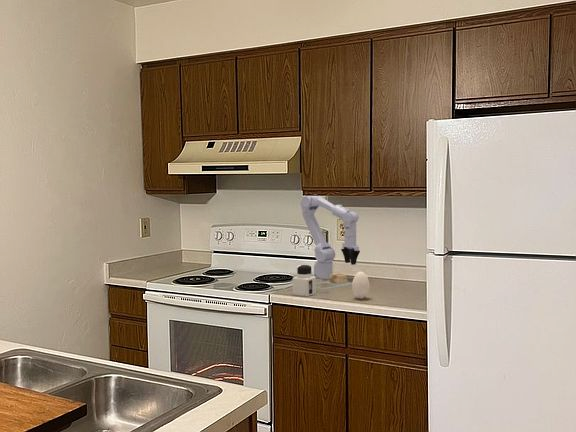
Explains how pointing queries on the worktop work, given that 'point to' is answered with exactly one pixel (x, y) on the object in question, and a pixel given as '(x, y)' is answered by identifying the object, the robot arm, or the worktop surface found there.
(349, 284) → the board
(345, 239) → the robot arm
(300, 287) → the container
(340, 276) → the oak block
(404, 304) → the worktop surface
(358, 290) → the egg
